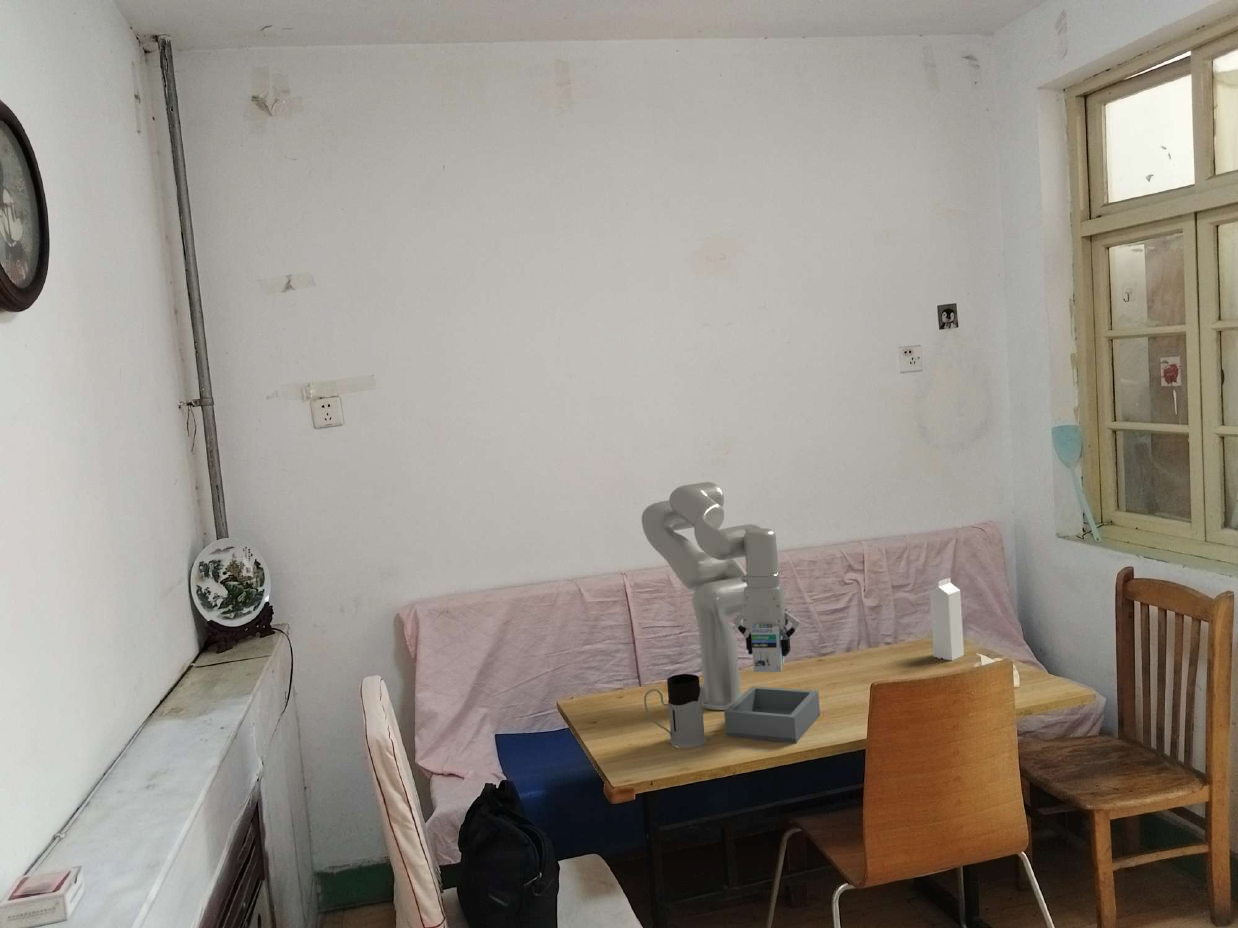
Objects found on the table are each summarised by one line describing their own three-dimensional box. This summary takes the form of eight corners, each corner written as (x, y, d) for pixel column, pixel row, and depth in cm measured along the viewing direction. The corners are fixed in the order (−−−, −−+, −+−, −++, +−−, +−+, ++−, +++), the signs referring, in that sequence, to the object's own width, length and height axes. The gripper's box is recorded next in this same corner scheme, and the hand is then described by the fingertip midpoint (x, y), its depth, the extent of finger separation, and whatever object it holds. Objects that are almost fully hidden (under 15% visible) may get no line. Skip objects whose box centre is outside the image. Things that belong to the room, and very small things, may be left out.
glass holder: (712, 743, 228) (707, 680, 227) (654, 755, 224) (648, 690, 223) (698, 731, 237) (693, 670, 235) (642, 742, 233) (637, 680, 231)
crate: (726, 736, 232) (724, 711, 232) (753, 709, 249) (752, 686, 248) (796, 743, 224) (794, 717, 224) (819, 714, 241) (818, 690, 240)
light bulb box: (782, 672, 229) (779, 627, 228) (753, 672, 231) (749, 627, 230) (784, 659, 240) (781, 615, 239) (757, 659, 241) (754, 616, 240)
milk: (933, 657, 279) (928, 580, 277) (945, 652, 283) (940, 576, 281) (952, 660, 274) (947, 582, 272) (964, 655, 278) (959, 578, 276)
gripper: (722, 583, 234) (728, 656, 236) (793, 585, 226) (799, 660, 228) (734, 577, 241) (739, 647, 242) (803, 578, 233) (808, 651, 234)
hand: (768, 653), depth 235 cm, fingers closed on light bulb box, 7 cm apart
